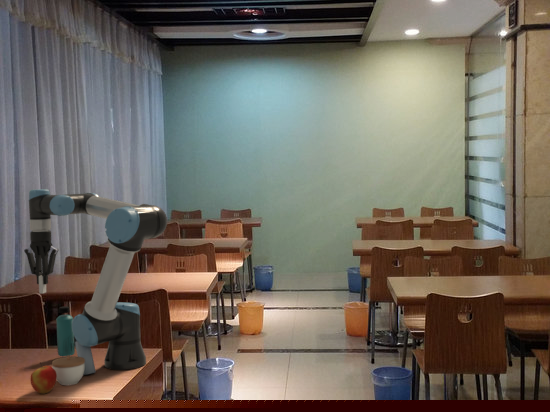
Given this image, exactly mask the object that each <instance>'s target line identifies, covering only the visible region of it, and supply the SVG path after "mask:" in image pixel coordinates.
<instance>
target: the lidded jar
mask: <svg viewBox="0 0 550 412" xmlns="http://www.w3.org/2000/svg"><path fill="white" fill-rule="evenodd" d="M51 365H52V368H53V369H54V370H55V371H56V374H57V378H56V382H58V383H59V384H60V385H61V386H74V385H77V384H79V381H80V380H82V378H83V376H84V375H83V374H84V368H85V359H84V358H82V357H78V356H77V355H76V356H73V355H72V356H71V355H68V356H62V357H59V358H56V359H54V360H52V363H51Z"/></svg>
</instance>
